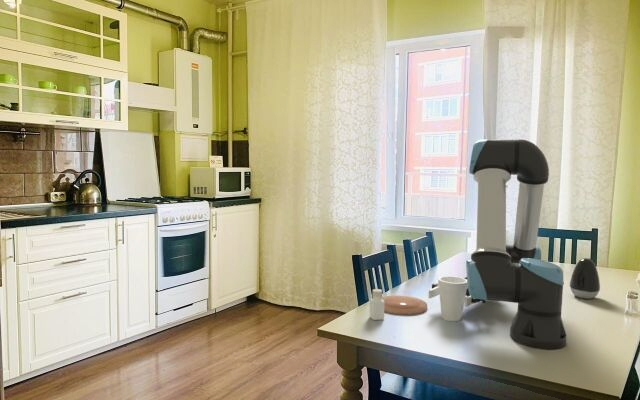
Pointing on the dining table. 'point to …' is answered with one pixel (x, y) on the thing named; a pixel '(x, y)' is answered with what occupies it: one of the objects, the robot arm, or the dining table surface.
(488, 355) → the dining table surface
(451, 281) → the foam cup
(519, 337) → the robot arm
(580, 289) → the dark grey egg shape
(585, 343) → the dining table surface
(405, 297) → the terracotta plate
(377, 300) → the pepper shaker
